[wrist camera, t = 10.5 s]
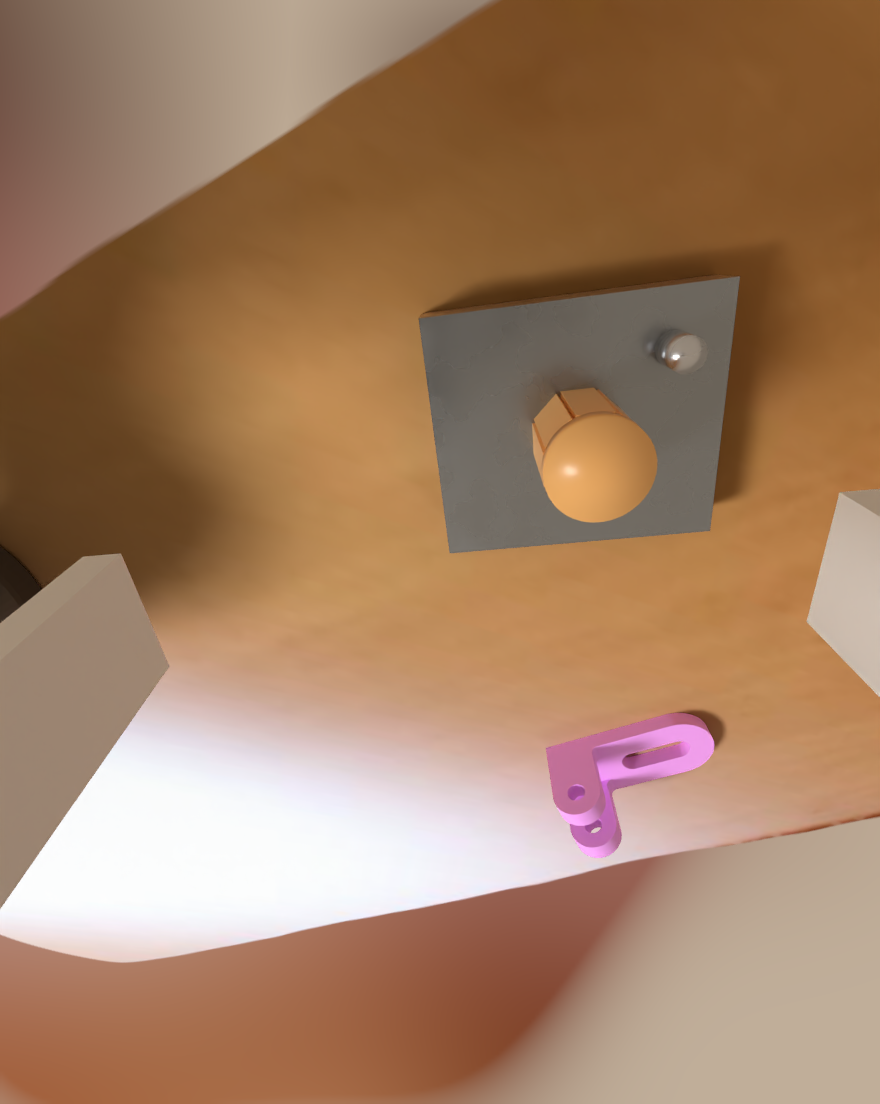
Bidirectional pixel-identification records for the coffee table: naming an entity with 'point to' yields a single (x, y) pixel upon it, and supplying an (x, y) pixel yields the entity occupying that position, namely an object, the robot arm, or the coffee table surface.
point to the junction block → (569, 364)
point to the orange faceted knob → (592, 456)
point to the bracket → (619, 772)
